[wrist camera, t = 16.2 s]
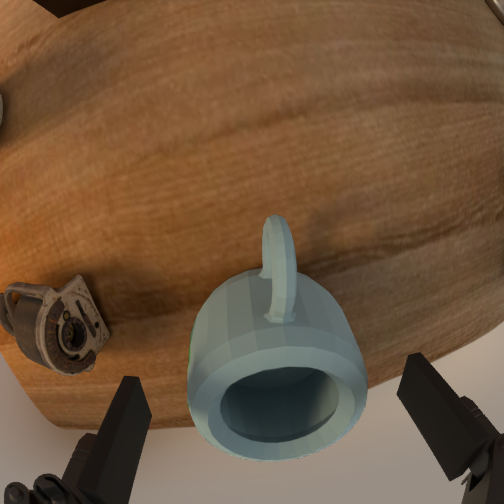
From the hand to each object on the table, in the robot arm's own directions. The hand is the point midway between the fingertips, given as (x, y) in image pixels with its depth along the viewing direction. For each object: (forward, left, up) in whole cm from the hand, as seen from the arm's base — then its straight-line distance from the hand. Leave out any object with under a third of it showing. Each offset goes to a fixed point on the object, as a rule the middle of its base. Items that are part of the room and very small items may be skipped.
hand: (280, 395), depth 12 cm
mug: (0, 0, -10) cm, 10 cm away
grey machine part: (+19, 0, -10) cm, 21 cm away
